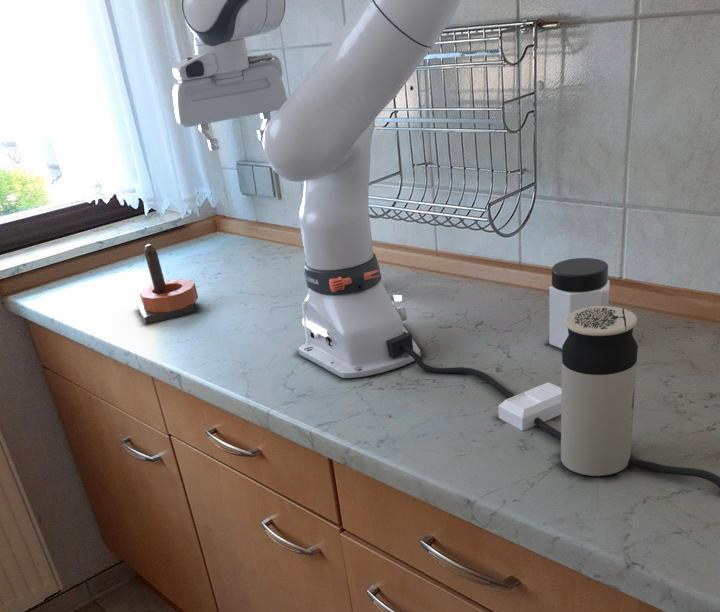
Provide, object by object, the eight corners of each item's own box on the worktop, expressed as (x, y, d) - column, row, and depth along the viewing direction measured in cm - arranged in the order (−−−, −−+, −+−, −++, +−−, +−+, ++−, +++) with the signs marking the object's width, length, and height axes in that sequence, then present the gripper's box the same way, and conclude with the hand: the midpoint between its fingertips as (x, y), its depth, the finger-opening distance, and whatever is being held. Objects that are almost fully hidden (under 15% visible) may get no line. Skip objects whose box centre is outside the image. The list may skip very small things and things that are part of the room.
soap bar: (575, 408, 106) (575, 390, 105) (522, 430, 103) (522, 412, 101) (550, 396, 110) (550, 379, 108) (498, 417, 106) (498, 400, 105)
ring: (203, 302, 158) (200, 288, 157) (151, 316, 155) (147, 302, 153) (189, 289, 167) (186, 275, 165) (139, 302, 163) (135, 288, 162)
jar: (600, 328, 127) (603, 254, 121) (614, 348, 120) (617, 271, 114) (544, 334, 128) (544, 261, 121) (554, 355, 121) (554, 278, 114)
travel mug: (555, 475, 93) (557, 331, 83) (566, 441, 99) (568, 304, 90) (626, 481, 90) (636, 333, 81) (632, 446, 96) (642, 305, 87)
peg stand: (195, 312, 159) (178, 244, 151) (146, 324, 156) (126, 256, 149) (185, 298, 167) (168, 233, 159) (138, 310, 164) (119, 244, 157)
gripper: (274, 51, 143) (287, 132, 151) (163, 69, 138) (182, 153, 145) (284, 51, 138) (297, 136, 146) (169, 70, 133) (189, 157, 140)
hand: (239, 144), depth 145 cm, fingers open, 8 cm apart
